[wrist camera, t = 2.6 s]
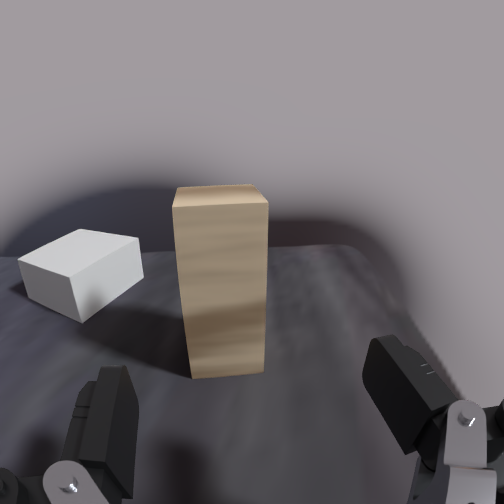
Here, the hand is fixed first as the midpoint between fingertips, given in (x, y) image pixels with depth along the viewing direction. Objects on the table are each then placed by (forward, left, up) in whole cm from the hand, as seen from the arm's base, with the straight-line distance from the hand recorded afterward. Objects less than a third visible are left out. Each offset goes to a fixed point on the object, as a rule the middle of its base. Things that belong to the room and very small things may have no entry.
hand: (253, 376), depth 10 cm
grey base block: (-24, +13, -9) cm, 29 cm away
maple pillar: (-6, +10, -9) cm, 14 cm away
